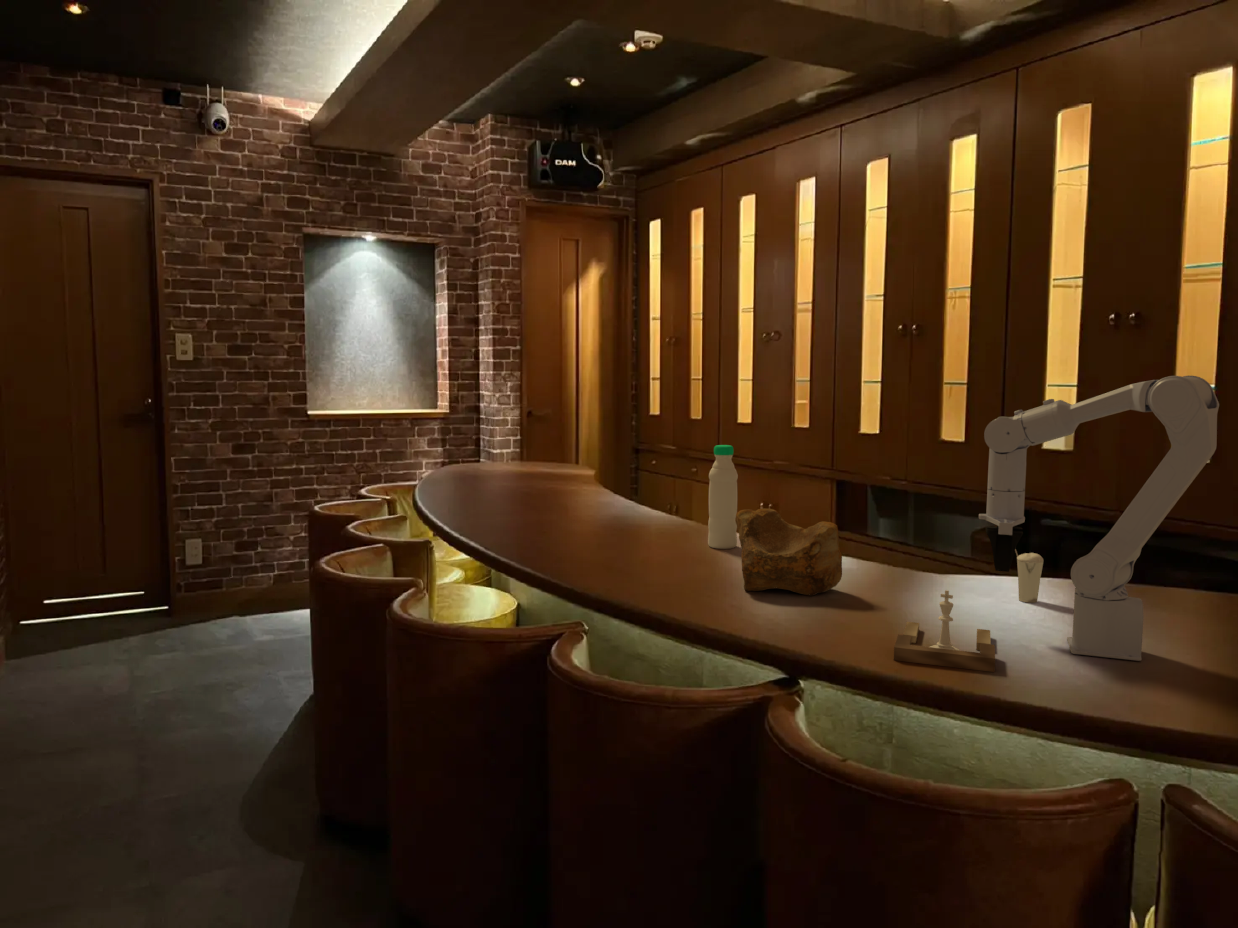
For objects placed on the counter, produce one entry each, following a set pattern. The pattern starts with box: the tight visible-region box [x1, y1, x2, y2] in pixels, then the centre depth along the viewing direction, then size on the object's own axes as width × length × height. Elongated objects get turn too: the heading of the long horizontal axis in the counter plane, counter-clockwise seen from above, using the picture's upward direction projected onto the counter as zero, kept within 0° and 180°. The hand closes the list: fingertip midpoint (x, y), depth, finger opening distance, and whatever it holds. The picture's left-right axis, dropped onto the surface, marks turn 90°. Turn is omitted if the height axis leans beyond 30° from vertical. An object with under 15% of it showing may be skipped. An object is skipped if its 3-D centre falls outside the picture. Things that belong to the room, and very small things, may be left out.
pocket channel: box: [902, 621, 992, 651], centre depth 145 cm, size 13×8×1 cm, turn 68°
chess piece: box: [929, 589, 961, 651], centre depth 137 cm, size 5×5×10 cm
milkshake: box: [1014, 548, 1044, 604], centre depth 169 cm, size 4×5×10 cm
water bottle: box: [707, 444, 739, 550], centre depth 219 cm, size 7×7×25 cm
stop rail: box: [893, 634, 996, 673], centre depth 135 cm, size 14×7×2 cm, turn 68°
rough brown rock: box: [735, 508, 843, 596], centre depth 178 cm, size 23×17×15 cm
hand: (1002, 570), depth 149 cm, fingers closed
